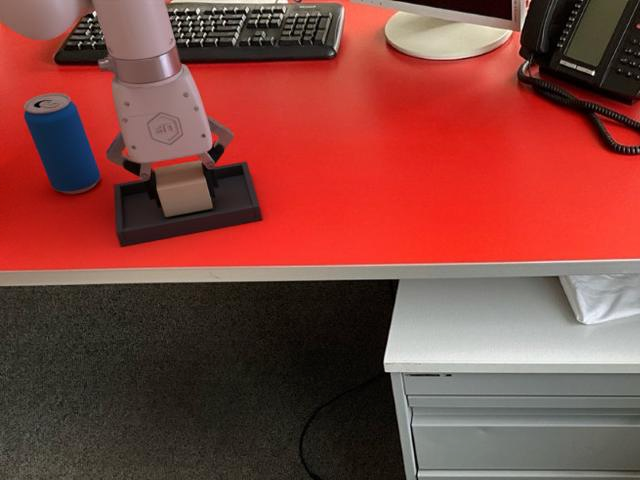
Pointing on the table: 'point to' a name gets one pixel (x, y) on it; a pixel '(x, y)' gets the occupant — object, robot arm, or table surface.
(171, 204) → the pad
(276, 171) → the table surface
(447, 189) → the table surface
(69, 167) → the beverage can
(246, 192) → the tray
